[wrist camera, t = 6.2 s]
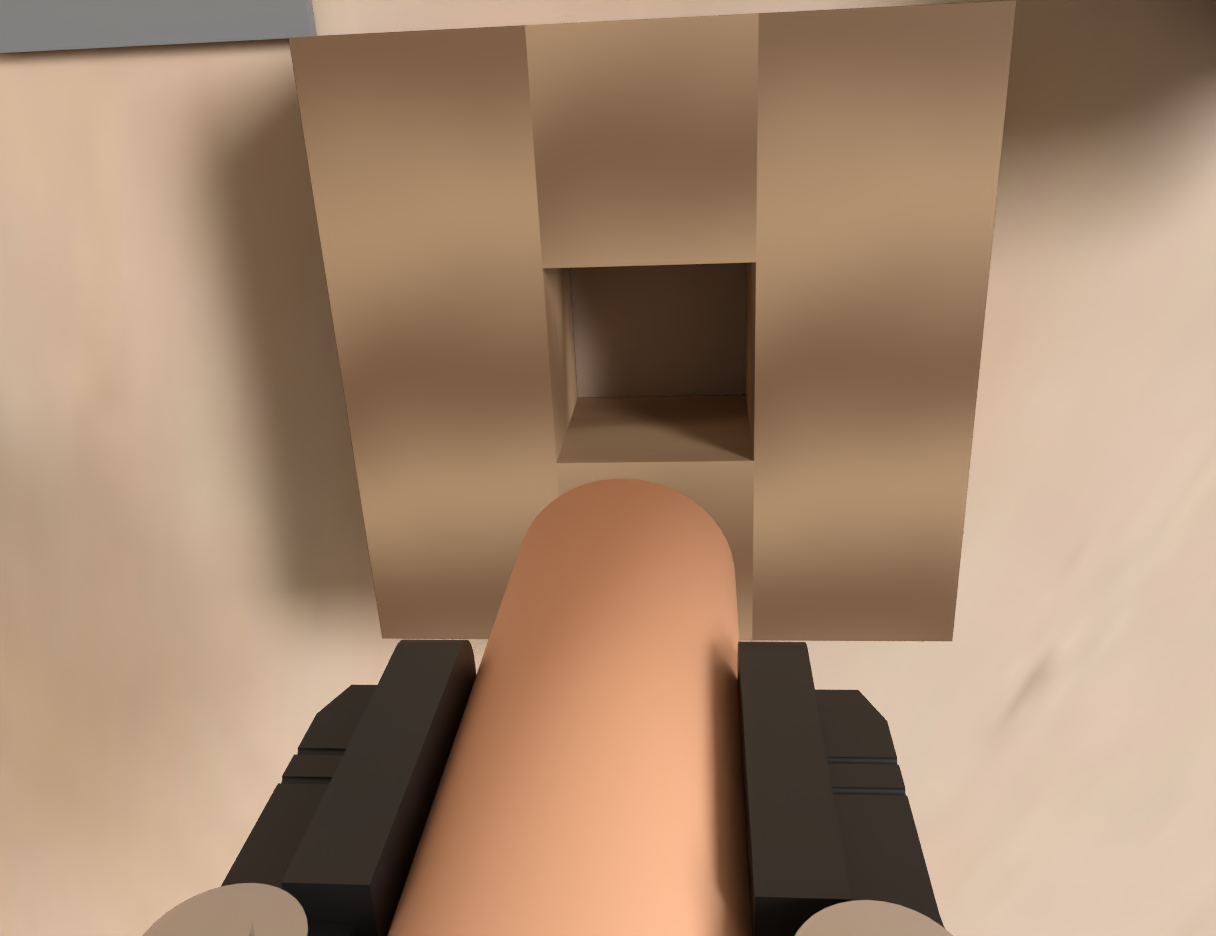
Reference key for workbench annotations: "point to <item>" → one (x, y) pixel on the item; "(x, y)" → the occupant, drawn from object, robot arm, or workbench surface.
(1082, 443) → the workbench surface
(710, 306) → the workbench surface
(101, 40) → the mat
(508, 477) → the hole block
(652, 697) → the peg
